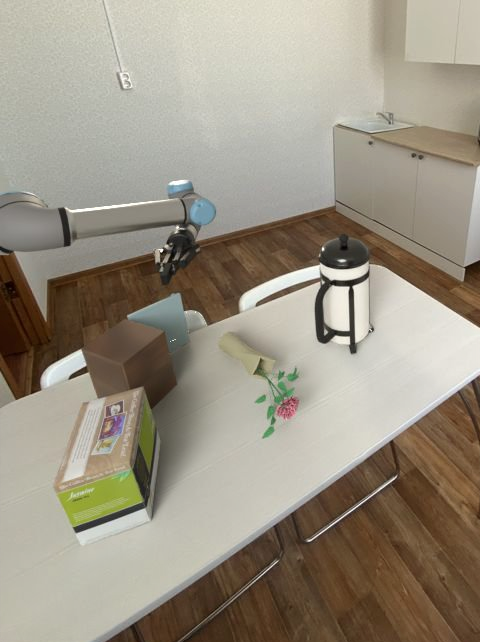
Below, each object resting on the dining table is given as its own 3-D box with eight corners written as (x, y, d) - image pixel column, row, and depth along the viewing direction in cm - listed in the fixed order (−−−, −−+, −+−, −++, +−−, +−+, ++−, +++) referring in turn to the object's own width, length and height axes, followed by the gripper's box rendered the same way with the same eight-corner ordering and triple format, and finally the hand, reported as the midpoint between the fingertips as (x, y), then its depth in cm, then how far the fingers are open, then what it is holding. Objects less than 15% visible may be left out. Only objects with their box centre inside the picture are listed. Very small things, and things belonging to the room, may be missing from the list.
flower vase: (247, 369, 101) (327, 433, 75) (200, 381, 93) (271, 458, 67) (250, 324, 101) (331, 373, 75) (204, 333, 93) (275, 390, 67)
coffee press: (312, 322, 107) (305, 225, 97) (368, 314, 110) (367, 219, 100) (318, 368, 92) (310, 257, 81) (383, 357, 94) (383, 249, 84)
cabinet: (139, 370, 92) (124, 318, 87) (177, 384, 88) (164, 331, 82) (99, 403, 83) (80, 348, 78) (139, 420, 79) (122, 363, 74)
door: (137, 362, 94) (123, 312, 89) (185, 336, 102) (175, 289, 97) (141, 367, 92) (128, 316, 87) (190, 341, 100) (180, 293, 95)
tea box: (102, 459, 71) (81, 400, 66) (162, 441, 75) (146, 383, 69) (79, 550, 58) (50, 485, 53) (152, 523, 61) (131, 459, 56)
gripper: (206, 247, 120) (194, 289, 99) (161, 253, 117) (139, 296, 96) (202, 226, 118) (189, 263, 96) (156, 231, 115) (132, 270, 93)
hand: (164, 280), depth 96 cm, fingers closed
